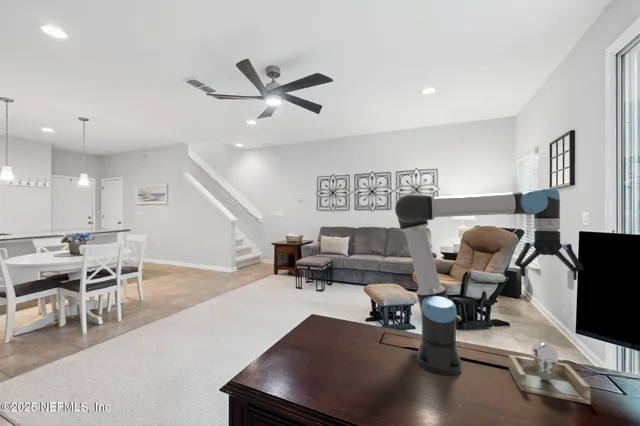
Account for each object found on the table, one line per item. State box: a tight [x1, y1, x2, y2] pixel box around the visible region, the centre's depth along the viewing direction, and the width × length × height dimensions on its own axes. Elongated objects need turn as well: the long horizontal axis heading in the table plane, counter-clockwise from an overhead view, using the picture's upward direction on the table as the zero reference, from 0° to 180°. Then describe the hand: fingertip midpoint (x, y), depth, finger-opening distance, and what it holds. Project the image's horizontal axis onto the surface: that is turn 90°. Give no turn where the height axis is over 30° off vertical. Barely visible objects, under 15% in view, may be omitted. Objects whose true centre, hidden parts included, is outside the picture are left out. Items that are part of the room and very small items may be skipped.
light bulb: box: [530, 342, 560, 381], centre depth 90 cm, size 7×7×12 cm
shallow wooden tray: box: [508, 354, 591, 405], centre depth 90 cm, size 17×14×5 cm
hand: (547, 287), depth 103 cm, fingers open, 13 cm apart
